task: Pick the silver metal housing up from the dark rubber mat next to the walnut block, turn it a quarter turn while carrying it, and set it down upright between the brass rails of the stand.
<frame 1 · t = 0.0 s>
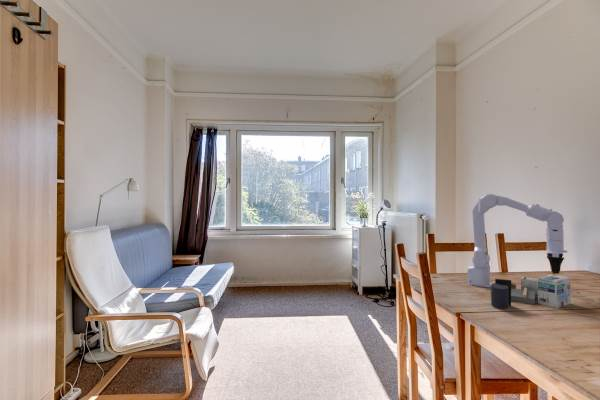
hand: (555, 271, 137), 10 cm above the table, tool pointing down, fingers open, 7 cm apart
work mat: (524, 292, 141), on the table
light bulb box: (554, 305, 125), on the table
stand: (514, 298, 134), on the table
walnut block: (510, 289, 144), resting on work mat
housing: (532, 292, 139), resting on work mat
speaker: (502, 307, 124), on the table
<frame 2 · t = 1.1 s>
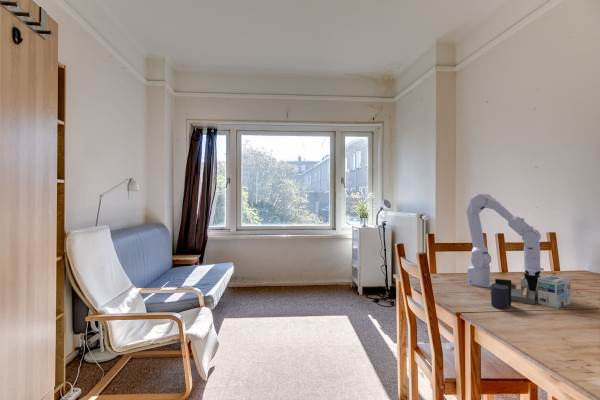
hand: (532, 288, 139), 2 cm above the table, tool pointing down, fingers open, 7 cm apart
nothing on the table moved.
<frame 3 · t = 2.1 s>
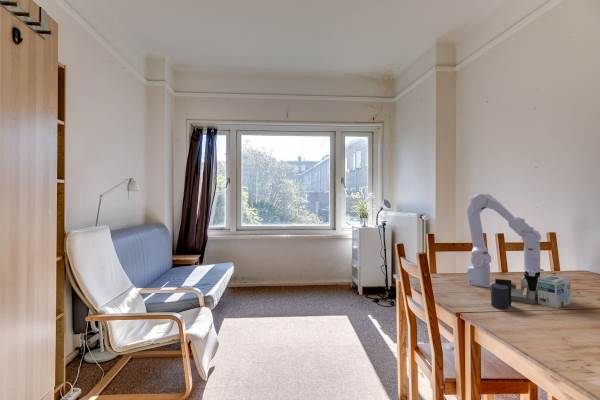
hand: (532, 289, 139), 2 cm above the table, tool pointing down, fingers closed on housing, 5 cm apart
housing: (532, 292, 139), resting on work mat, touching gripper
everything else where it was.
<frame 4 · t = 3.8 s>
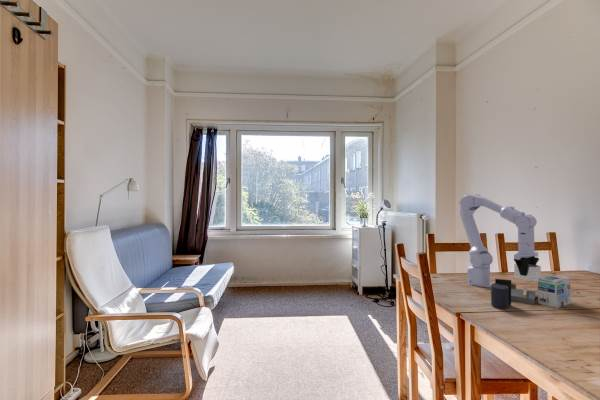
hand: (526, 274, 138), 9 cm above the table, tool pointing down, fingers closed on housing, 5 cm apart
housing: (527, 278, 137), point 7 cm above the table, touching gripper
everything else where it was.
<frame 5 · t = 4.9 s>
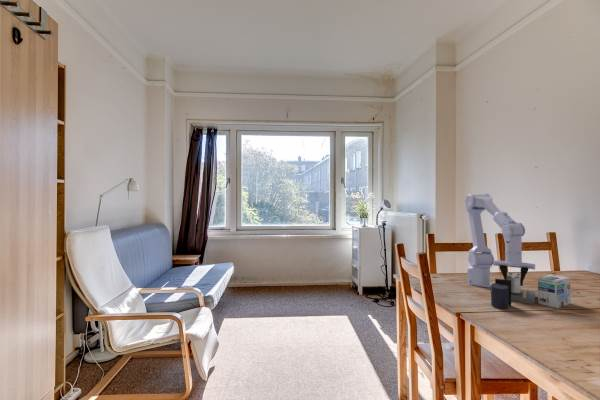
hand: (513, 284, 134), 6 cm above the table, tool pointing down, fingers closed on housing, 5 cm apart
housing: (513, 290, 133), point 4 cm above the table, touching gripper
everything else where it was.
when the fingers open (5 cm above the table, at t = 5.8 s): housing stays where it is, resting on stand.
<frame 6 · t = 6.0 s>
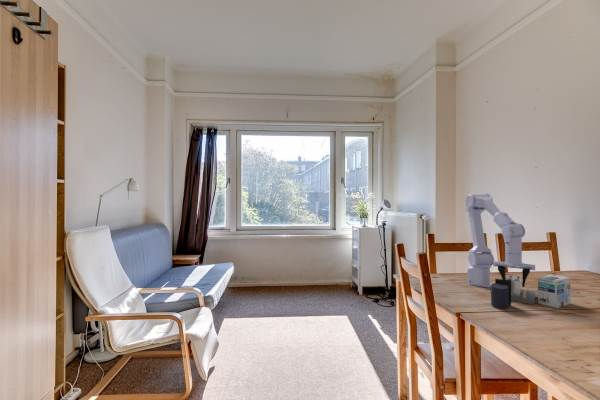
hand: (513, 285, 134), 5 cm above the table, tool pointing down, fingers open, 6 cm apart
housing: (513, 292, 133), point 2 cm above the table, touching stand
everything else where it was.
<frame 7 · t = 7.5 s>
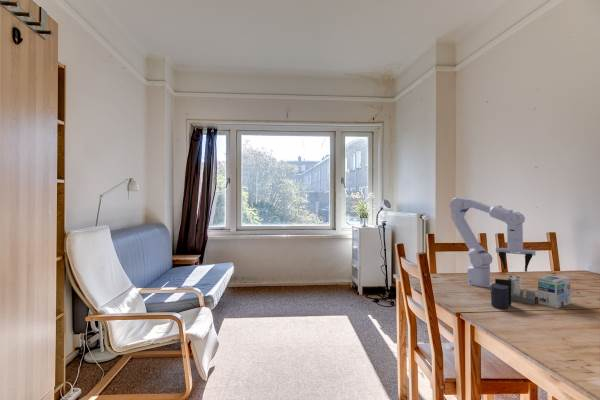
hand: (515, 270, 142), 10 cm above the table, tool pointing down, fingers open, 7 cm apart
nothing on the table moved.
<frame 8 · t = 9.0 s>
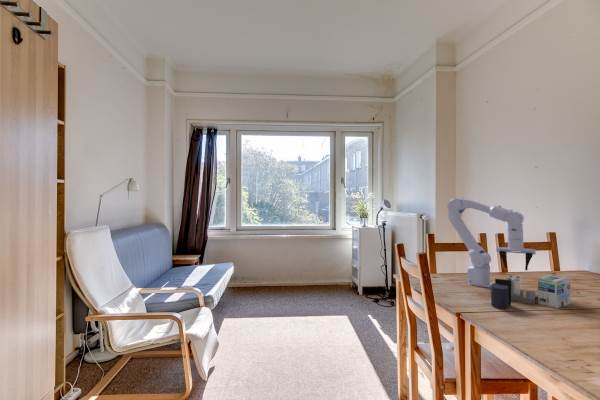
hand: (515, 269, 144), 10 cm above the table, tool pointing down, fingers open, 7 cm apart
nothing on the table moved.
at the end: housing 0.5 cm off-centre on the stand, point 2.5 cm above the stand's base; housing tilted 0°; the gripper is holding nothing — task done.
